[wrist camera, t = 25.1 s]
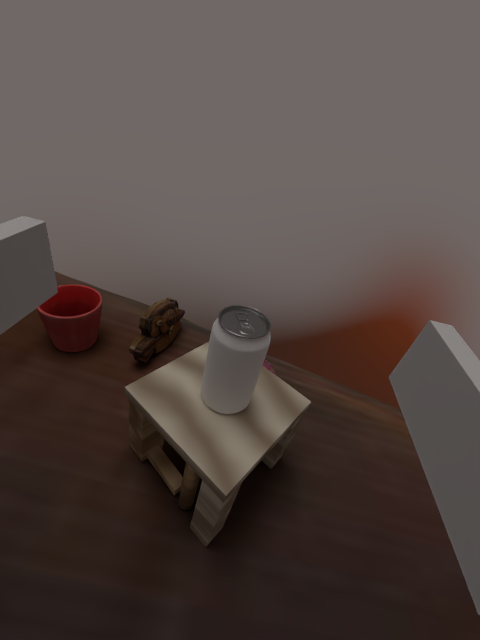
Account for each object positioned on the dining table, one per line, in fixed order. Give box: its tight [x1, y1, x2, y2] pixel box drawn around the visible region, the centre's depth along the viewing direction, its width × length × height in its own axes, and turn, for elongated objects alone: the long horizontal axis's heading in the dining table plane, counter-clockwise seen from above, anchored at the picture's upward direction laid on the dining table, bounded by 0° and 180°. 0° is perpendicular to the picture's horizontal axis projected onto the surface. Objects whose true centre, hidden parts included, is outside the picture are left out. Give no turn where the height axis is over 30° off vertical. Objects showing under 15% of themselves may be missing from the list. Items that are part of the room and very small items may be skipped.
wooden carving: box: [129, 298, 185, 363], centre depth 60 cm, size 16×5×10 cm, turn 163°
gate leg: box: [128, 399, 200, 510], centre depth 39 cm, size 13×4×12 cm, turn 45°
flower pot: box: [36, 285, 102, 352], centre depth 56 cm, size 11×11×10 cm
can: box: [201, 305, 271, 414], centre depth 34 cm, size 6×6×12 cm
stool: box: [125, 342, 311, 547], centre depth 42 cm, size 17×17×14 cm
